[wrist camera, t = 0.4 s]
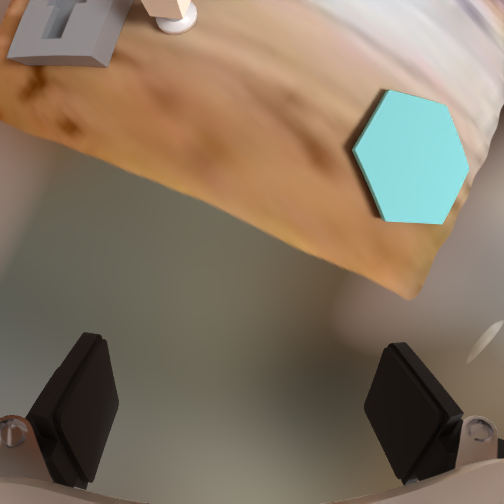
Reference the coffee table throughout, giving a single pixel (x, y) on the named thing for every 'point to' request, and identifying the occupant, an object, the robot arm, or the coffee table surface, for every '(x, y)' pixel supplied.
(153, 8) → the keyhole peg
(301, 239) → the coffee table surface
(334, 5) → the coffee table surface
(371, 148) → the plaque
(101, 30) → the keyhole board
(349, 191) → the coffee table surface
